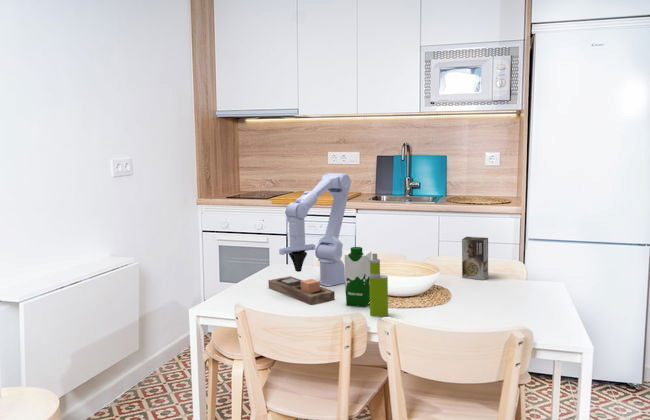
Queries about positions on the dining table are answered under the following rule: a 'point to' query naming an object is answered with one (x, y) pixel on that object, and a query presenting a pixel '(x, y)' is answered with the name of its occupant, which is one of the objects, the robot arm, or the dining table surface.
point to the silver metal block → (290, 282)
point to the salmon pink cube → (310, 285)
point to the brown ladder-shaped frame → (301, 295)
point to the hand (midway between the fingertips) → (298, 271)
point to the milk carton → (357, 277)
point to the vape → (378, 289)
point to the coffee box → (475, 258)
